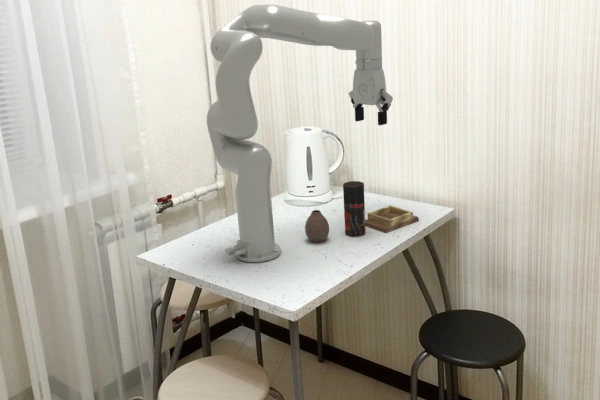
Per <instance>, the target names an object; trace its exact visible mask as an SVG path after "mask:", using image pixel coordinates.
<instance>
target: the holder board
mask: <svg viewBox="0 0 600 400" xmlns="http://www.w3.org/2000/svg"><path fill="white" fill-rule="evenodd" d="M416 221H417V222H419V221H420V220H419V216H416V215H414V212H413V211H409V210H405V209H403V208H400V207H396V206H394V205H388V206H384V207H382V208H380V209H376V210H373V211H370V212H367V219H365V227H367V228H370V229H372V230H375V231H378V232H381V233H385V234H387V233H390V232H392V231H395V230H397V229H400V228H403V227H406V226H409V225H411V224H414V223H417V222H416Z"/></svg>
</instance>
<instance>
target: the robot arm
mask: <svg viewBox="0 0 600 400" xmlns="http://www.w3.org/2000/svg"><path fill="white" fill-rule="evenodd" d="M382 37H383V36H382V24H381V22H380V21H378V20H362V21H359V20H355V19H354V20H353V19H349V18H343V17H338V16H332V15H327V14H323V13H319V12H318V13H317V12H312V11H306V10H301V9H297V8H291V7H287V6H284V5H282V6H281V5H278V4H253V5H250V6H249V7H247V8H246V9H244V10H243V11H241V12H240V13H239V14H238V15H237V16H235V17H234V18H233V19H231V20H230V21H229V22H228V23H227V24H225V25H224V26H223V27H222V28H220V29H218V30H217V32H216V33H215V34H214V35H213V37H212V39H211V41H210V53H211V54H212V56H213V58H214V59H215V60H216V61H217V62H220V64H219V67H218V69H217V72H216V75H215V91H216V95H217V101H215V102H213V103H212V104H211V105H210V107H209V109H208V111H207V113H206V126H207V131H208V134H209V138H210V142H211V145H212V146H211V147H212V149H213V152H214V156H215V158H216V161H217V162H218V165H219V167H221V168H222V169H223V170H225V171H228V172H230V173H232V174H235V175H237V181H236V186H235V204H236V212H237V223H238V224H237V225H238V234H239V239H237V240H236V244H234V246H230V247H228V248H226V249H224V253H225V255H226V256H227V257H228V256H229V257H230V256H232V255H234V256H235V257H236V259H238V260H240V261H242V262H247V263H263V262H268V261H271V260H273V259H276V258H278V257H279V256H280V255H281V253H282V248H281V246H280V244H277V243H276V241H275V229H274V228H275V227H274V226H275V225H274V217H273V216H274V215H273V203H272V191H271V178H272V177H271V176H272V169H273V168H272V167H273V159H272V155H271V153H270V151H269V150H268V148H267V147H265V146H264V145H262V144H260V143H258V142H254V141H250V140H249V139H251V138H253V137H254V136H255V135H256V134H257V132H258V127H259V125H258V124H259V123H258V122H259V121H258V117H257V112H256V109H255V104H254V100H253V96H252V92H251V85H250V77H251V74H252V71H253V69H254V67H255V65H256V64H257V62H258V61H259V60H260V58H261V57H262V53H263V42H262V39H269V40H270V39H271V40H278V41H283V42H287V43H288V42H290V43H294V44H300V45H305V46H313V47H314V46H315V47H319V46H320V47H325V46H326V47H333V48H334V49H336V50H340V51H355V61H354V62H355V63H354V64H355V65H356V68H355V69H354V72H353V78H352V79H353V80H352V90H350V91H349V92H348V95H349V97H350V102H351V104H352V107H353V108H354V119H355V120H354V121H355V122H361V121H364V120H365V108H364V106H363V105H365V106H366V105H368V106H376V108H377V109H378V111H377V125H378V126H384V125H387V124H388V113H387V112H388V111H389V110H390V109H389V108H390V107H391V106H392V101H393V100H394V97H393V96H392V95H390V94H389V93H388V92H387V83H386V77H385V72H384V69H383V49H382V48H383V47H382V45H383V43H382Z"/></svg>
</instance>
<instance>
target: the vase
mask: <svg viewBox="0 0 600 400" xmlns="http://www.w3.org/2000/svg"><path fill="white" fill-rule="evenodd" d="M304 232H305V235H306V238H307V239H308V240H309V241H310V242H312V243H322V242H324V241H325V240H326V239H327V238H328V236H329V233H330V224H329V221H328V220H327V218H326V217H325V216H324V215H323V214H322V211H321V210H319V209H313V210H312V211H311V212H310V215H309V216H308V217H307V219H306V221H305V224H304Z"/></svg>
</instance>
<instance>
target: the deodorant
mask: <svg viewBox="0 0 600 400" xmlns="http://www.w3.org/2000/svg"><path fill="white" fill-rule="evenodd" d="M342 189H343V190H342V191H343V212H344V213H343V214H344V233H345V235H346V236H347V237H352V238H353V237H354V238H357V237H362V236H365V234H366V226H365V220H366V211H365V207H366V206H365V184H364V182H362V181H360V180H359V181H358V180H352V181H347V182H344V183H343V184H342Z"/></svg>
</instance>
